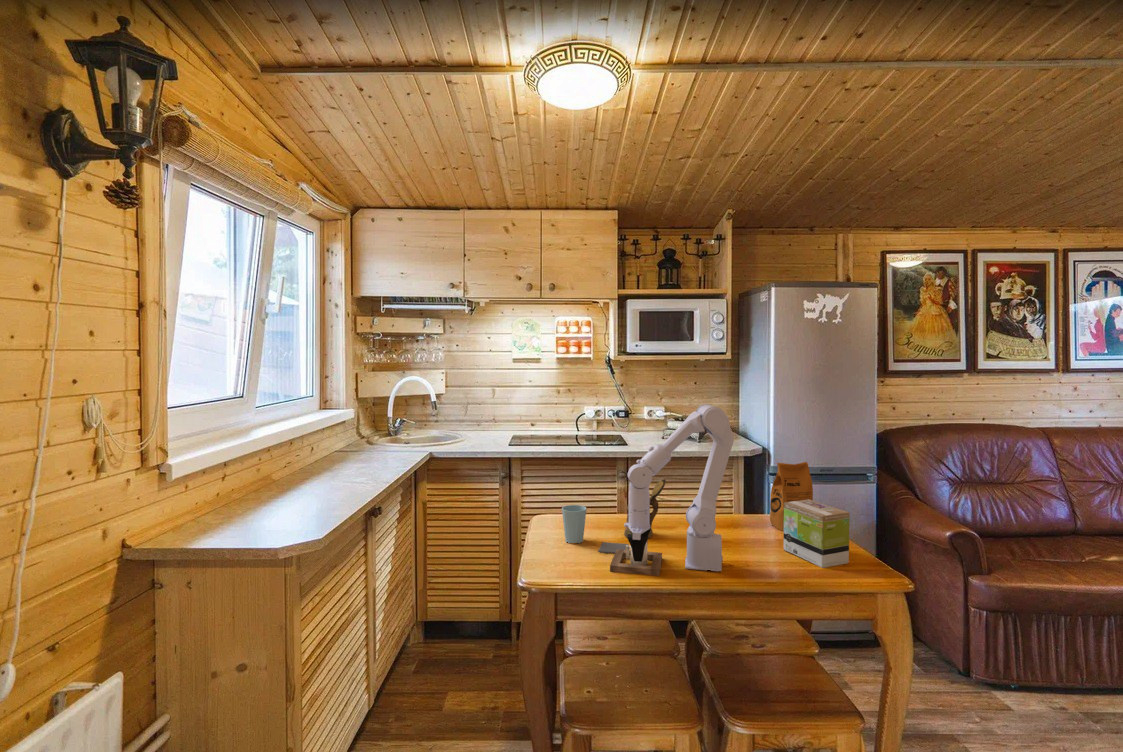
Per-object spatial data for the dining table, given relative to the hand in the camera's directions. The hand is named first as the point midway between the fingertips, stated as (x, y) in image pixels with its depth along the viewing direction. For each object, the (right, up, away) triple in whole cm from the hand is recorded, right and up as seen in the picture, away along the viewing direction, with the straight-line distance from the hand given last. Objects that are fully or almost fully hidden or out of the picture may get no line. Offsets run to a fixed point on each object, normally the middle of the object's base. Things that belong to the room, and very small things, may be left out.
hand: (639, 557), depth 152 cm
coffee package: (+56, -1, +33) cm, 65 cm away
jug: (0, -2, 0) cm, 2 cm away
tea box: (+51, -2, +6) cm, 52 cm away
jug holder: (-1, -2, 0) cm, 2 cm away
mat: (-6, -2, +13) cm, 14 cm away
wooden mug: (+6, -2, +26) cm, 27 cm away
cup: (-17, -2, +20) cm, 27 cm away
